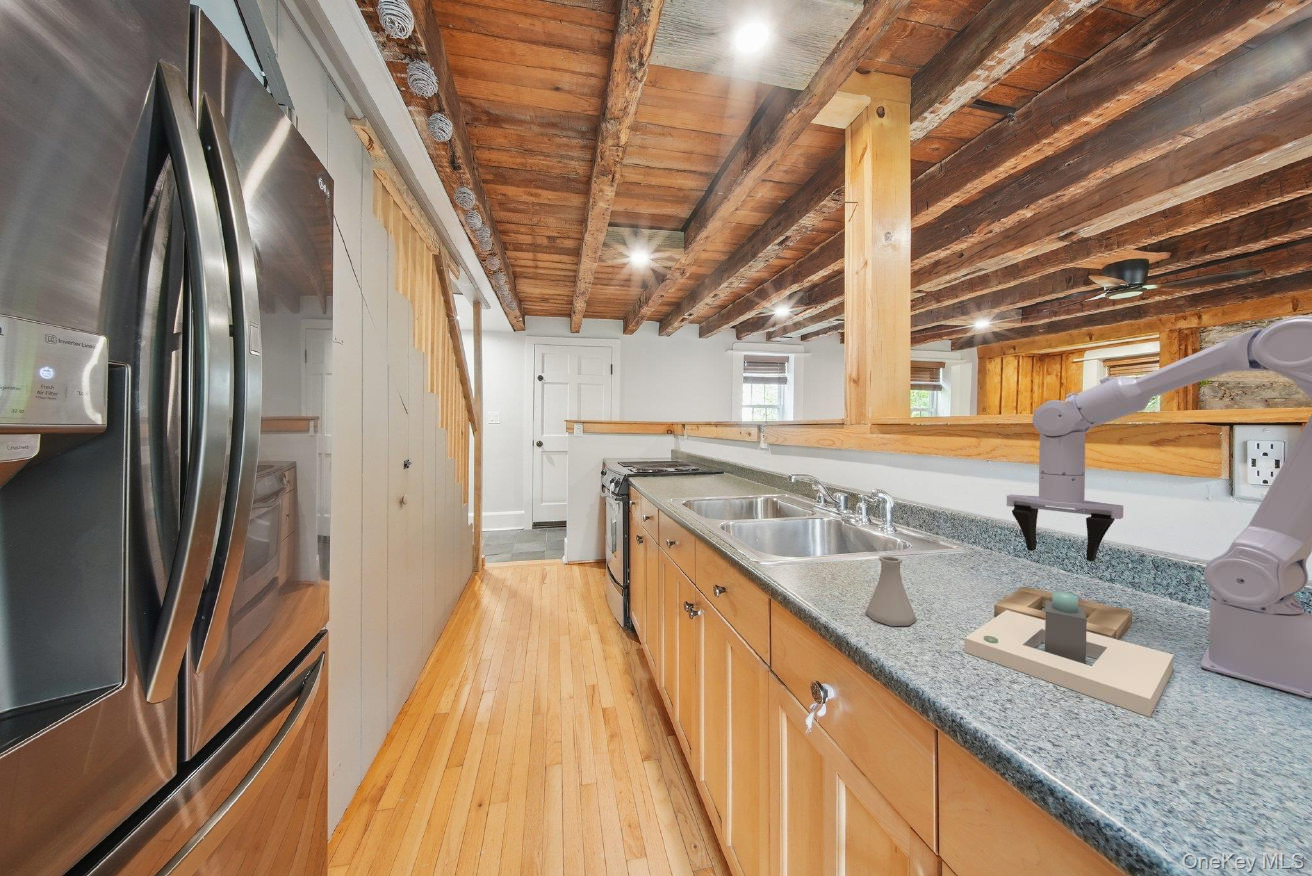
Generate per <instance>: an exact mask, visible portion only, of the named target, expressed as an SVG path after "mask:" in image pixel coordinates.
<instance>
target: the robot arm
mask: <svg viewBox="0 0 1312 876" xmlns="http://www.w3.org/2000/svg"><path fill="white" fill-rule="evenodd" d="M1231 372H1274V373H1276V374H1278V375H1280V376H1282V377H1284V378H1287V379H1288V380H1290V381H1292V382H1294V383H1295V385H1296V386H1297V387H1298V388H1300V390H1301V391H1302V392H1303V393H1305V395H1307V397H1308V398H1310V399H1311V400H1312V315H1299V316H1294V317H1293V316H1292V317H1288V318H1283V319H1281V320H1278V321H1276V322H1273V323H1271V324H1270V325H1268V326H1267V327H1265V328H1259V327H1258V328H1256V329H1252V330H1248V331H1244V332H1242V333H1240V334H1237V335H1236V336H1233V337H1231V338H1227V339H1226V340H1223V341H1222V342H1219V343H1217V344H1214V345H1212V346H1210V347H1207V348H1205V349H1202V350H1200V351H1198V352H1195V353H1193V354H1191V355H1189V356H1186V357H1184V358H1181V359H1179V360H1177V361H1174V362H1172V363H1169V364H1168V365H1165V366H1163V367H1161V368H1158V369H1157V370H1154V371H1152V372H1149V373H1147V374H1144V375H1142V376H1140V377H1138V378H1133V377H1130V376H1125V375H1120V376H1117V377H1114V376H1106V377H1104V378H1102V379H1099V383H1100V384H1098V385H1095V386H1092V387H1090V388H1087V389H1084V390H1083V391H1080V392H1078V393H1076V392H1070V393H1067V394H1066V395H1065V399H1064V401H1063V400H1058V399H1055V400H1054V399H1053V400H1052V399H1051V400H1047V401H1045V402H1044V403H1042V404H1041V405H1040V406H1038V407H1037V408H1036V410H1035V411H1034V412H1033V414H1032V424H1033V427H1034V428H1035V430H1036V431H1037V432H1038V433H1039V451H1038V452H1039V456H1038V457H1039V460H1038V461H1039V462H1038V465H1039V467H1038V473H1039V474H1038V495H1026V494H1025V495H1024V494H1023V495H1020V494H1011V493H1009V494H1007V495H1006V507H1013V509H1012V510H1011V513H1012V516H1013V517H1014V519H1015V520H1016V523H1017V524H1018V526H1019V528H1020V530H1021V532H1022V535H1023V537H1024V541H1025V546H1026V550H1027V551H1029V552H1033V551H1035V550H1037V544H1038V543H1037V523H1038V515H1039V510H1044V511H1053V512H1059V513H1060V512H1061V513H1062V512H1063V513H1070V514H1080V515H1087V516H1088V515H1089V516H1088V517H1085V522H1086V523H1085V525H1086V533H1087V534H1086V535H1087V546H1086V554H1085V556H1086V557H1085V558H1086V561H1087V562H1091V563H1093V562H1094V561H1096V559H1097V555H1098V554H1097V553H1098V551H1099V547H1100V544H1101V543H1102V540H1103V538H1105V537H1104V536H1105V534H1106V533H1107V532H1108V530H1109V529H1110V528H1111V526H1112V524H1113V523H1114V521H1116V520H1121V519H1123V518H1124V505H1123V504H1113V503H1106V502H1098V501H1093V500H1092V501H1091V500H1085V492H1086V491H1085V488H1086V485H1085V484H1086V481H1085V480H1086V433H1088V432H1089V431H1090V430H1091V429H1092V428H1094V427H1095V428H1096V427H1097V426H1101V425H1104V424H1106V423H1108V422H1109V423H1110V422H1112V421H1115V420H1118V419H1120V418H1124V417H1127V416H1129V415H1130V416H1131V415H1133V414H1135V413H1138V412H1141V411H1144V410H1145V409H1146V407H1147V406H1148V405H1149V402H1150V401H1151V399H1152V398H1153V397H1157V396H1160V395H1162V394H1166V393H1168V392H1172V391H1175V390H1179V389H1181V388H1184V387H1188V386H1191V385H1194V384H1196V383H1200V382H1204V381H1205V380H1208V379H1212V378H1215V377H1218V376H1222V375H1224V374H1227V373H1231ZM1260 502H1261V503H1260V504H1259V506H1258V508H1257V509H1256V511H1255V513H1254V514H1253V517H1252V518H1251V520H1250V522H1249V524H1248V525H1247V527H1245V529H1243V531H1241V533H1240V534H1238V536H1236V538H1235V539H1233V541H1232V542H1231V544H1230V546H1229V548H1228V549H1227V550H1226V551H1225V552H1224V553H1223V554H1220V555H1219V556H1216V557H1214V558H1212V559H1211V560H1209V561H1208V563H1207V564H1206V565H1205V567H1204V571H1203V577H1204V582H1205V583H1206V585H1207V586H1208V588H1209V589H1210V592H1209V595H1210V596H1209V622H1208V623H1209V629H1208V630H1209V631H1208V647H1207V648H1206V650H1205V652H1204V654H1203V658H1202V660H1201V662H1200V667H1201V668H1202V669H1205V670H1208V671H1212V672H1215V673H1219V674H1222V675H1225V676H1228V677H1229V676H1230V677H1234V678H1236V679H1240V680H1245V681H1249V682H1252V683H1255V684H1259V685H1263V686H1266V687H1270V688H1273V689H1277V690H1281V691H1285V692H1288V693H1292V694H1296V695H1298V696H1303V697H1306V698H1309V699H1312V613H1309V612H1306V611H1304V605H1302V604H1301V602H1300V601H1299V600H1298V598H1297V597H1296V596H1294V594H1297V593H1298V592H1301V591H1302V590H1304V588H1305V587H1306V586H1307V584H1308V582H1309V574H1308V569H1307V561H1308V560H1309V557H1310V555H1311V554H1312V414H1311V415H1310V417H1309V419H1308V420H1307V422H1306V424H1305V425H1304V427H1303V429H1302V431H1301V433H1300V434H1299V436H1298V437H1297V439H1296V441H1295V443H1294V445H1293V447H1292V448H1291V450H1290V451H1289V453H1288V455H1287V457H1286V459H1285V460H1284V462H1283V464H1282V465H1281V468H1280V469H1279V470H1278V473H1277V474H1276V476H1275V478H1274V479H1273V481H1272V484H1271V485H1270V487H1269V489H1268V491H1266V494H1265V495H1264V497H1263V499H1262V501H1260ZM1115 519H1116V520H1115Z"/></svg>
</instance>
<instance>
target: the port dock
mask: <svg viewBox="0 0 1312 876" xmlns="http://www.w3.org/2000/svg"><path fill="white" fill-rule="evenodd" d="M963 643H964V645H963V647H964V649H963V652H964V653H966V654H969V655H972V656H975V657H977V658H981V659H983V660H986V661H989V662H991V663H995V664H998V665H1000V666H1003V667H1006V668H1009V669H1012V670H1014V671H1017V672H1020V673H1023V674H1026V675H1029V676H1032V677H1035V678H1037V679H1040V680H1043V681H1045V682H1049V683H1051V684H1054V685H1057V686H1060V687H1063V688H1066V689H1069V690H1072V691H1075V692H1077V693H1080V694H1082V695H1085V696H1088V697H1091V698H1094V699H1097V700H1100V701H1103V702H1106V703H1107V704H1111V705H1114V706H1117V707H1120V708H1123V709H1125V710H1128V711H1132V712H1135V713H1137V714H1139V715H1141V716H1142V715H1143V716H1146V717H1149V718H1151V716H1152V713H1153V711H1154V710H1155V708H1156V706H1157V704H1158V702H1159V699H1160V698H1161V695H1162V693H1163V692H1164V690H1165V688H1166V686H1167V683H1168V681H1169V680H1170V678H1171V675H1172V673H1173V671H1174V658H1175V657H1174V656H1175V654H1174V653H1172V654H1171V653H1168V652H1165V651H1161V650H1158V649H1154V648H1149V647H1145V646H1142V645H1138V644H1135V643H1131V642H1128V641H1123V640H1121V639H1119V640H1117V639H1113V638H1109V637H1106V636H1102V635H1098V634H1094V633H1091V632H1087V631H1086V657H1089V658H1092V659H1096V660H1095V662H1094V663H1093V664H1092V665H1088V664H1087V663H1086V664H1083V663H1080V662H1076V661H1073V660H1070V659H1067V658H1064V657H1060V656H1057V655H1054V654H1051V653H1048V652H1045V650H1040V649H1038V648H1037V647H1038V646H1039V645H1040V644H1041V643H1042V644H1045V620H1042V619H1038V618H1035V617H1031V616H1027V615H1023V614H1020V613H1016V612H1012V611H1009V610H1006V611H1004V612H1003V613H1001V614H1000V615H998V616H997V617H993V618H992V619H990V620H989V621H988V622H986V623H985V624H983V625H982V626H980V627H979V628H977V629H976V630H974V631H973V632H971V633H969V634H968V635H967V636H965V637H964V641H963Z"/></svg>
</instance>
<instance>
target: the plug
mask: <svg viewBox="0 0 1312 876" xmlns="http://www.w3.org/2000/svg"><path fill="white" fill-rule="evenodd" d="M1052 593H1053V596H1052V601H1048V600H1046V601H1045V608H1044V609H1045V643H1044V652H1048V653H1051V654H1054V655H1057V656H1060V657H1064V658H1067V659H1070V660H1073V661H1076V662H1080V663H1083V664H1086V665H1087V656H1086V625H1087V618H1086V614H1085V610H1084V607H1082V606H1078V599H1079V596H1078V595H1077V594H1075V593H1071V592H1068V591H1064V590H1063V591H1062V590H1054V591H1052Z"/></svg>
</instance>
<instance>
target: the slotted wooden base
mask: <svg viewBox="0 0 1312 876" xmlns="http://www.w3.org/2000/svg"><path fill="white" fill-rule="evenodd" d="M1052 596H1053V592H1050V591H1046V590H1041V589H1036V588H1032V587H1029V586H1024V585H1023V586H1022V587H1019V588H1018V589H1017V590H1015V591H1014V592H1012V593H1011V594H1009V595H1008V596H1006V597H1004V598H1002V599H1001V600H999V601H998V602H996V603H994V604H993V605H994V607H993V608H994V609H993V613H994V614H993V618H995V617H997V616H998V615H1000V614H1001V613H1003V612H1004V611H1006V610H1009V611H1012V612H1016V613H1020V614H1023V615H1027V616H1031V617H1035V618H1038V619H1042V620H1045V611H1044V610H1041V609H1042V608H1044V609H1045V601H1046V600H1048V601H1052ZM1078 606H1082V607H1084V610H1085V614H1086V619H1087V625H1086V631H1087V632H1091V633H1094V634H1098V635H1102V636H1106V637H1109V638H1113V639H1117V640H1121V638H1122V637H1123V635H1124V634H1125V633H1126V632H1127V630H1128V629H1129V628H1130V627H1131V625H1132V624H1133V610H1129V609H1125V608H1121V607H1116V606H1112V605H1108V604H1104V603H1103V604H1102V603H1099V602H1094V601H1090V600H1085V599H1081V598H1078Z"/></svg>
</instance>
